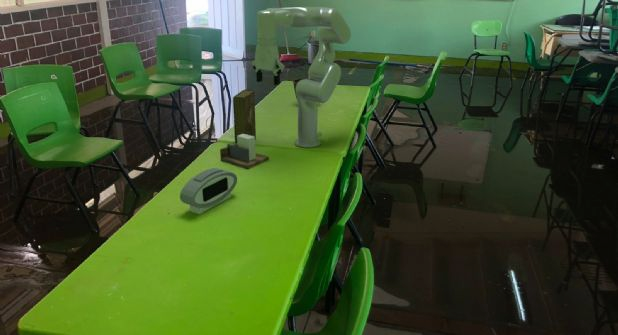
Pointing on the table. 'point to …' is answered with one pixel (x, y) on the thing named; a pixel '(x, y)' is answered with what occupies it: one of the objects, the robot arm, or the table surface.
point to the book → (244, 113)
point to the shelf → (240, 156)
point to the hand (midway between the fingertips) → (268, 83)
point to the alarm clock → (208, 189)
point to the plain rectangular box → (247, 144)
